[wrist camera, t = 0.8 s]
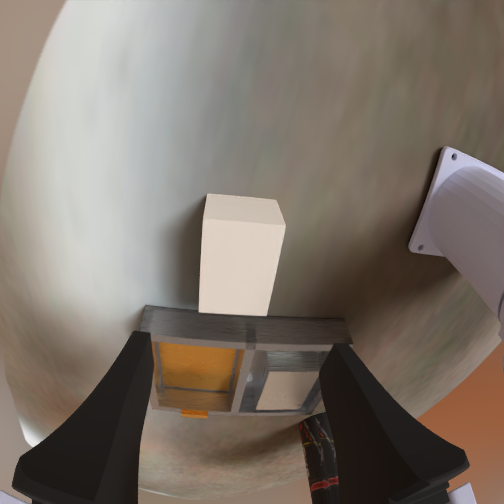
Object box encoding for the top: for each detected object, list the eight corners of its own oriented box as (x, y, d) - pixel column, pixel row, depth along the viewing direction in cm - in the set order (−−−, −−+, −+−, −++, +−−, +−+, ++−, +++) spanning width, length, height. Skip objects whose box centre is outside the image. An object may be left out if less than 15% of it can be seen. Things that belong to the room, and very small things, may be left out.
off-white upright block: (275, 198, 18) (285, 225, 15) (260, 280, 21) (266, 316, 18) (207, 192, 17) (203, 218, 14) (202, 276, 20) (198, 312, 17)
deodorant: (292, 422, 33) (310, 532, 20) (338, 406, 32) (366, 518, 19) (307, 435, 36) (324, 530, 23) (348, 421, 35) (373, 517, 22)
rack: (343, 318, 23) (356, 350, 20) (306, 392, 29) (312, 419, 26) (145, 305, 21) (136, 339, 18) (155, 385, 27) (151, 414, 24)
